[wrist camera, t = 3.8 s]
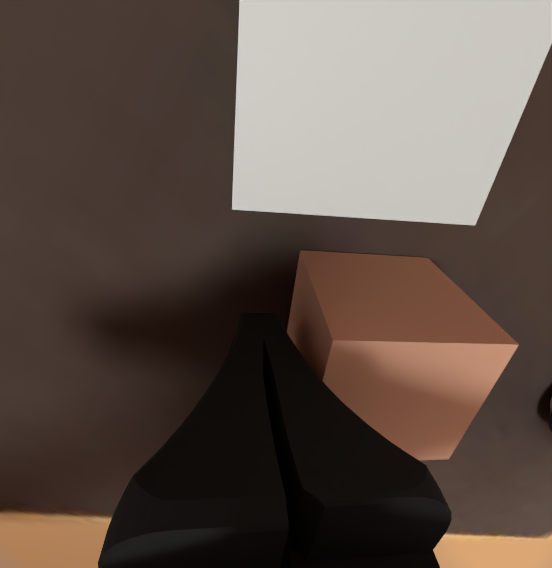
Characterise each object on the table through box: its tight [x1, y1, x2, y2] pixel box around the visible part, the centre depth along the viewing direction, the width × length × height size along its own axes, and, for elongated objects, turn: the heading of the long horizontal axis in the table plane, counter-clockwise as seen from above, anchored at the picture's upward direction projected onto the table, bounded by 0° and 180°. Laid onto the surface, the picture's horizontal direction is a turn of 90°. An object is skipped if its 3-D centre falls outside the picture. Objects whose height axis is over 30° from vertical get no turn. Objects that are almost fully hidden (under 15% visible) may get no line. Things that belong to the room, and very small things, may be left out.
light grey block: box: [232, 0, 552, 225], centre depth 8 cm, size 5×5×5 cm
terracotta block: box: [287, 250, 519, 460], centre depth 12 cm, size 5×5×5 cm
